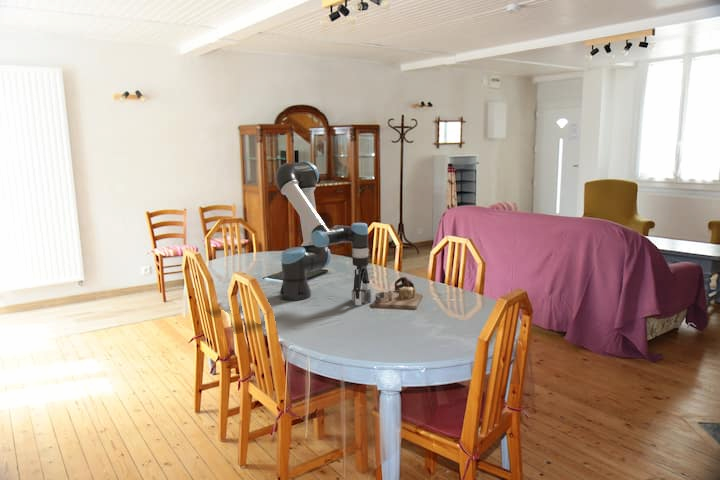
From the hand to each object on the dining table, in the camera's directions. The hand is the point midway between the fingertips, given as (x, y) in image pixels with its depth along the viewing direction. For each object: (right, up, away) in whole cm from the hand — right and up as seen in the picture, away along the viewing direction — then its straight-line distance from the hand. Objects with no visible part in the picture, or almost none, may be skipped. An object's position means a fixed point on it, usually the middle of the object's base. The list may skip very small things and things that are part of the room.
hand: (361, 301), depth 261 cm
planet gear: (0, 0, 0) cm, 0 cm away
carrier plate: (+17, 0, -2) cm, 17 cm away
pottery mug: (+22, +3, +16) cm, 27 cm away
